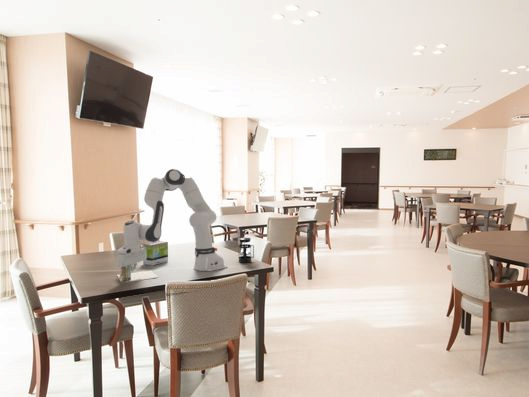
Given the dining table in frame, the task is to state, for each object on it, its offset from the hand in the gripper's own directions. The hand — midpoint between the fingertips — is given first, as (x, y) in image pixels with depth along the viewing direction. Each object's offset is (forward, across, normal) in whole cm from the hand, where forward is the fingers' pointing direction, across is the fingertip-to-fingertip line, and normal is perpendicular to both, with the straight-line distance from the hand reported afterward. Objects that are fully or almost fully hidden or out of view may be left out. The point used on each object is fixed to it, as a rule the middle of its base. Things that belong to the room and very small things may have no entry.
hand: (133, 270), depth 223 cm
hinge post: (+5, -3, -12) cm, 13 cm away
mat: (+5, -5, -2) cm, 8 cm away
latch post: (+5, +7, 0) cm, 9 cm away
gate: (+4, +2, -4) cm, 6 cm away
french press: (+7, -67, +40) cm, 78 cm away
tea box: (+6, -38, -17) cm, 42 cm away
